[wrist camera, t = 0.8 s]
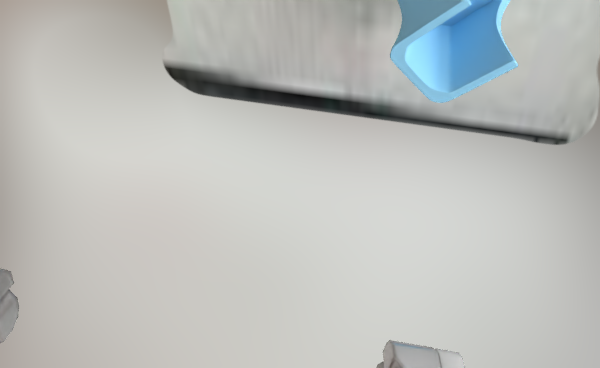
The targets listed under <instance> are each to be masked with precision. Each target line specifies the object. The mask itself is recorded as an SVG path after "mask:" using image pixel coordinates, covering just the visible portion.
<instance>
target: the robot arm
mask: <svg viewBox="0 0 600 368" xmlns="http://www.w3.org/2000/svg"><path fill="white" fill-rule="evenodd" d="M13 283H14V281H13V278H12V274H11V271H8V270H4V269H0V343H2V342H3V341H4V340H5V339H6V338H7V336H8V335H9V334H10V332H11V331H12V330H13V327H14V325H15V322H16V320H17V318H18V311H19V304H18V299H17V297H16V296H15V295H14V294H13V293H12V292H11V291H10V290H9V288H10V287H11V286H12V285H13ZM383 358H384V361H383V362H382V363H380V364H378V365H377V368H465V366H464V362H463V358H462V356H461V355H460V354H459V353H458V352H452V351H447V350H441V349H434V348H432V347H426V346H420V345H414V344H409V343H403V342H397V341H391V340H389V341H388V342H387V344H386V346H385V348H384V350H383Z"/></svg>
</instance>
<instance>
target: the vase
mask: <svg viewBox="0 0 600 368" xmlns="http://www.w3.org/2000/svg"><path fill="white" fill-rule="evenodd" d="M509 2H510V0H398V3H399V5H400V8H401V12H402V25H401V29H400V32H399V35H398V38H397V40H396V42H395V43H394V45H393V47H392V50H391V53H390V58H391V60H392V61H393V62H394V64H395V65H396V66H397V67H398V68H399V69H400V70H401V71H402V72H403V73H404V74H405V75H406V76H407V77H408V78H409V80H410V81H411V82H412V83H413V84H414V85H415V86H416V87H417V88H418V89H419V90H420V91H421V92H422V93H423V94H424V95H425V96H426V97H427V98H428V99H430V100H431V101H433V102H440V103H443V102H447V101H450V100H452V99H454V98H457V97H459V96H461V95H463V94H465V93H467V92H468V91H470V90H472V89H474V88H476V87H478V86H480V85H482V84H484V83H486V82H488V81H490V80H492V79H494V78H496V77H498V76H500V75H502V74H504V73H506V72H508V71H510V70H512V69H514V68H516V67H518V64H517V62H516V61H515V59H514V57H513V56H512V54H511V53H510V51H509V49H508V47H507V46H506V44H505V41H504V39H503V37H502V33H501V29H500V26H501V18H502V15H503V12H504V10H505V8H506V7H507V5H508V3H509Z"/></svg>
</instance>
